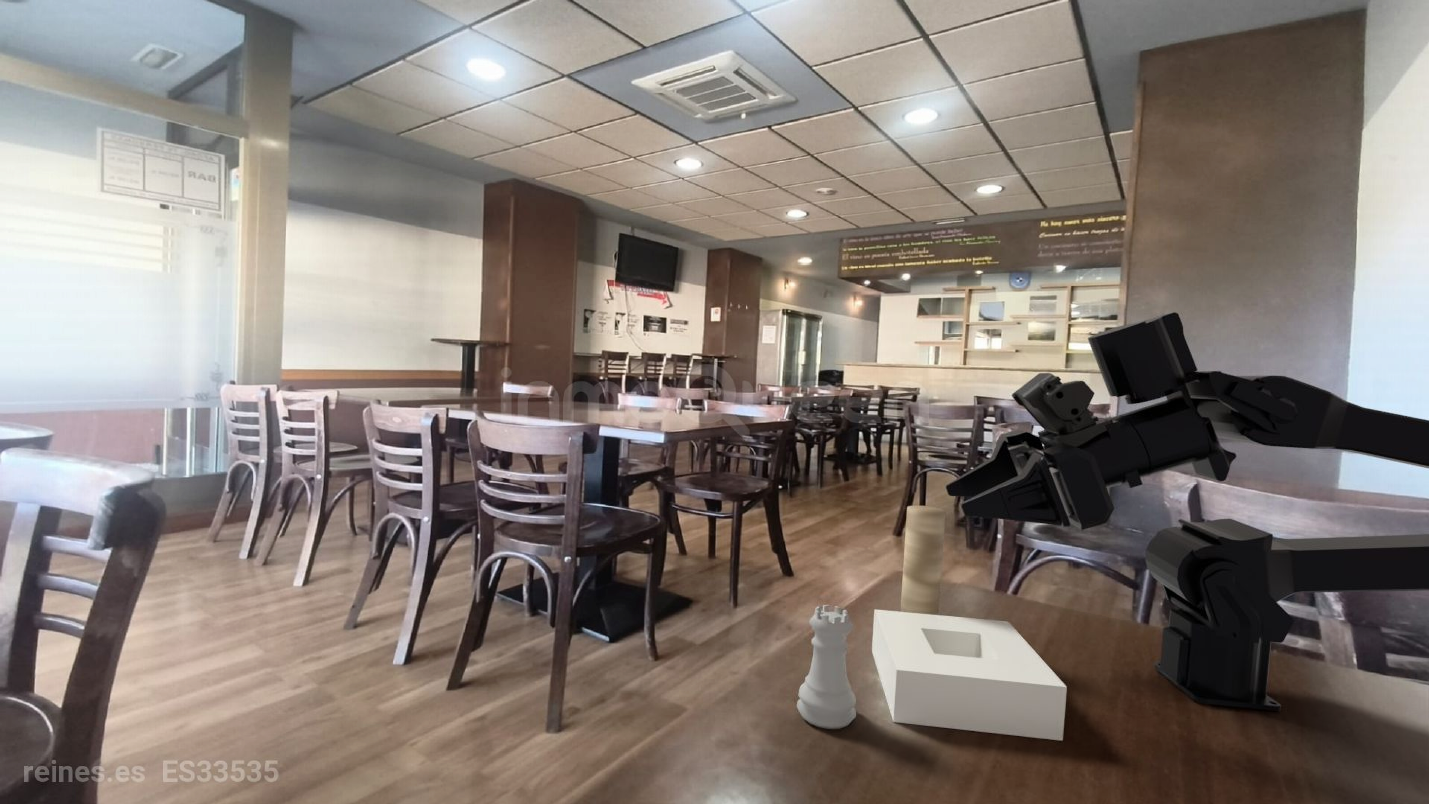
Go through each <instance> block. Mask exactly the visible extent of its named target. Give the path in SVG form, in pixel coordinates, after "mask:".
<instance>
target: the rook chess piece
mask: <svg viewBox="0 0 1429 804" xmlns="http://www.w3.org/2000/svg"><path fill="white" fill-rule="evenodd" d="M830 609H831V608H830V604H822V607H821V606H819V605H818V606H816V607H815V609H814V614H813V616H812V617H811V618H810V619H809V622H808V623H809V625H810V627H811V628H812V629H813V631H814V636H813V637H812V638H811V642H810V643H811V644H812V646H813V653H812V659H811V665H810V669H809V671H808V675H806V676H805V678H804V682H803V683H802V684H801V685H800V687H799V690H798V694H797V696H798V697H799V699H798V700H797V702H796V703H797V704H796V708H797V710H798V712H799V713H800V715H801V717H802V718H803V720H805V722H808V723H809V724H810V725H813V726H815V727H817V728H821V729H826V730H840V729H843V728H845V727H848V726H849V725H850V723H851V722H852V721H853V720H854V719H855V718H856V717H857V712H856V708H855V706H856V705H857V703H856V701H857V700H856V696H855V694H856V693H854V691H853V690H852V689H851V683H850V682H849V680H848V679H849V678H848V676H847V664H846V663H847V662H846V655H847V654H846V651H847V650H848V649H849V648H850V646H849V645H850V644H849V643H848V642H847V636H848V635H849V634H850V632H852V631H853V629H854V625H853V623H852V622H851V620H850V618H849V616H850V615H849V614H850V613H849V610H847V609H843V610H842V607H840V606H838V605H837V606H836V605H834V610H833V611H832V610H830Z"/></svg>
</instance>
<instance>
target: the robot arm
mask: <svg viewBox="0 0 1429 804" xmlns="http://www.w3.org/2000/svg"><path fill="white" fill-rule="evenodd" d="M1182 322H1183V321H1182V319H1181V317H1180V315H1179V313H1178V312H1175V311H1174V312H1169V313H1166V314H1162V315H1159V316H1155V317H1153V318H1149V319H1146V320H1145V319H1144V320H1142V321H1139V322H1134V323H1129V324H1124V325H1119V326H1115V327H1113V328H1110V329H1107V330H1105V331H1102V332H1098V333H1096V334H1094V335H1091V336H1089V337H1088V338H1087V341H1088V343H1089V347H1090V348H1091V351H1092V353H1093V356H1094V359H1095V361H1096V364H1097V366H1098V369H1099V372H1100V374H1101V376H1102V379H1103V382H1104V384H1105V387H1106V389H1107V391H1108V395H1109V396H1110V397H1116V398H1120V397H1124V400H1125V403H1126V404H1127V405H1137V404H1143V403H1147V402H1150V401H1151V402H1152V401H1154V400H1159V399H1161V398H1164V397H1166V399H1165V400H1162V401H1160V402H1156V403H1154V404H1153V403H1152V404H1149V405H1147V406H1144V407H1143V406H1142V407H1141V408H1140V407H1139V408H1138V409H1135V410H1131V411H1128V412H1125V413H1121V414H1118V415H1115V416H1112V417H1107V418H1101V417H1098V416H1095V415H1090V413H1091V410H1089V406H1090V404H1091V402H1092V401H1093V398H1094V395H1095V392H1094V391H1093V389H1091V388H1090V386H1089V385H1088V384H1087V383H1086V381H1083V380H1072V381H1067V382H1061V380H1062V379H1061V378H1060V376H1058V375H1057V376H1056V375H1054V374H1053V373H1051V372H1040V373H1038V374H1036V375H1035V376H1034V377H1032V378H1031V379H1030V380H1028V381H1027V382H1026V383H1025V384H1023V385H1022V386H1020V387H1019V388H1018V389H1017V390H1016V391H1014V392H1013V393H1012V394H1011V397H1012V398H1013V400H1014V402H1015V403H1017V405H1018V406H1022V407H1023V409H1025V411H1026V412H1027V413H1029V415H1030V416H1031V417H1032V418H1033V419H1034V420H1035V422H1037V423H1038V425H1040V427H1041V428H1042V429H1044V430H1041V431H1037V434H1038V436H1037V435H1035V434H1033V433H1031V432H1028V431H1026V430H1023V429H1014V430H1011V431H1009V432H1005V433H1002V434H1000V437H999V438H998V439H997V440H996V442H995V444H996V445H995V447H994V449H993V452H992V454H991V456H990V457H989V458H988V459H987V460H985V461H984V462H982V463H981V464H979V465H977V466H976V467H974V468H972V469H970V470H969V471H967V472H966V473H964V474H962V475H961V476H959V477H957V478H956V479H954V480H952V481H950V482H949V483H947V484H946V485H945V490H946V492H947V495H948V496H949V497H965V498H966V497H970V498H969V499H967V500H964V501H963V502H961V503H960V507H961V510H962V512H963V515H964V516H966V517H973V518H974V517H975V518H984V519H985V518H986V519H997V520H1006V521H1017V522H1026V523H1032V524H1033V523H1035V524H1043V525H1049V526H1050V525H1052V526H1059V527H1062V528H1069V527H1071V525H1073V526H1074V527H1076V528H1077V529H1079V530H1080V531H1083V530H1087V529H1091V528H1094V527H1098V526H1101V525H1105V524H1107V522H1108V521H1109V519H1110V517H1111V515H1112V514H1113V512H1114V510H1115V506H1114V504H1113V502H1112V501H1113V500H1112V499H1111V496H1110V494H1109V490H1108V489H1109V488H1112V487H1113V488H1114V487H1116V486H1120V485H1122V486H1124V487H1127V488H1129V489H1132V488H1135V487H1140V486H1143V481H1142V479H1143V478H1147V477H1151V476H1154V475H1156V474H1159V473H1163V472H1164V473H1165V472H1166V471H1170V470H1173V469H1177V468H1179V467H1184V466H1187V465H1192V468H1193V469H1194V472H1195V474H1196V475H1197V476H1200V477H1204V478H1207V479H1210V480H1215V481H1217V482H1225V481H1226V480H1227V477H1228V475H1229V474H1230V473H1229V472H1230V471H1231V465H1232V463H1233V461H1234V460H1236V458H1237V454H1236V453H1235V452H1231V451H1229V450H1227V449H1225V448H1223V447H1222V446H1221V443H1220V441H1219V438H1220V439H1223V440H1228V441H1229V440H1231V441H1235V442H1236V441H1237V442H1241V443H1242V442H1243V443H1248V444H1249V443H1250V444H1255V445H1261V446H1267V447H1277V448H1278V447H1280V448H1292V449H1293V448H1294V449H1295V448H1296V449H1313V450H1316V449H1317V450H1339V451H1342V452H1343V451H1344V452H1347V453H1354V454H1358V455H1362V456H1367V457H1371V458H1372V457H1373V458H1377V459H1383V460H1386V461H1391V462H1397V463H1400V464H1401V463H1402V464H1406V465H1411V466H1415V467H1421V468H1424V469H1429V419H1423V418H1419V417H1414V416H1408V415H1403V414H1398V413H1392V412H1387V411H1384V410H1377V409H1374V408H1373V409H1372V408H1369V407H1364V406H1361V405H1358V404H1355V403H1352V402H1350V401H1347V400H1345V399H1344V398H1341V396H1338V395H1336V394H1334V393H1333V392H1331V391H1329V390H1326V389H1322V388H1320V387H1317V386H1315V385H1312V384H1310V383H1306V382H1304V381H1301V380H1297V379H1296V378H1292V377H1289V376H1285V375H1233V374H1229V373H1225V372H1222V371H1221V370H1206V371H1205V370H1204V371H1203V370H1199V371H1198V368H1197V364H1196V362H1195V360H1194V357H1193V355H1192V352H1191V349H1190V347H1189V345H1188V342H1187V340H1186V336H1185V334H1184V326H1183V323H1182ZM1178 524H1180V526H1172V527H1167V528H1163V529H1160V530H1159V531H1158V530H1157V533H1156V534H1155V536H1153V537H1152V539H1151V540H1150V541H1149V542H1148V545H1147V547H1146V549H1145V554H1144V555H1145V556H1144V560H1145V564H1146V568H1147V570H1148V572H1149V573H1150V575H1151V576H1152V577H1153V578H1154V580H1156V581H1157V582H1159V583H1160V584H1161V588H1162V591H1163V593H1164V597H1165V599H1166V600H1168V602H1171V603H1173V604H1174V605H1176V606H1178V607H1179V608H1178V609H1174V608H1173V609H1171V608H1170V609H1169V618H1168V626H1167V625H1166V626H1164V628H1163V629H1162V640H1161V653H1160V662H1157V661H1156V662H1153V663H1154V664H1153V665H1154V666H1153V668H1154V669H1155V670H1156V671H1157V672H1158V673H1160V675H1162V676H1163V677H1164V678H1166V680H1168V681H1169V682H1171V683H1172V684H1173V685H1174V686H1176V687H1177V688H1179V689H1180V690H1181V691H1182V692H1184V694H1186V695H1187V696H1188V697H1189V698H1191V699H1192V700H1193V701H1195V702H1197V703H1201V704H1207V705H1216V706H1224V707H1225V706H1226V707H1235V708H1242V709H1243V708H1245V709H1252V710H1254V709H1256V710H1264V711H1265V710H1266V711H1274V712H1280V711H1281V710H1282V705H1281V703H1279V702H1278V701H1277V700H1275V699H1274V698H1272V697H1271V696H1269V695H1267V693H1268V691H1267V689H1268V682H1269V681H1268V680H1269V670H1270V659H1271V658H1270V657H1271V649H1272V647H1271V646H1272V643H1279V644H1282V643H1283V642H1284V641H1285V639H1286V637H1287V636H1288V634H1289V632H1290V630H1291V628H1292V627H1293V624H1294V623H1295V621H1294V618H1293V617H1292V616H1291V615H1290V614H1289V613H1288V612H1287V611H1286V610H1285V609H1284V608H1283V607H1282V606H1281V605H1280V604H1279V603H1278V602H1280V601H1282V600H1284V599H1286V598H1288V597H1290V596H1292V595H1296V594H1306V593H1308V594H1309V593H1359V592H1360V593H1363V592H1370V593H1371V592H1409V591H1410V592H1417V591H1429V533H1426V534H1424V533H1423V534H1397V535H1396V534H1395V535H1371V536H1369V535H1368V536H1340V537H1339V536H1338V537H1314V538H1313V537H1310V538H1309V537H1308V538H1307V537H1306V538H1305V537H1304V538H1285V539H1284V538H1281V539H1279V538H1278V539H1274V534H1273V533H1270V532H1268V531H1265V530H1262V529H1260V528H1257V527H1254V526H1251V525H1249V524H1246V523H1243V522H1240V521H1238V520H1235V519H1233V518H1218V519H1214V520H1207V521H1203V522H1202V521H1201V522H1195V521H1190V520H1189V521H1188V520H1186V519H1182V518H1180V519H1178Z"/></svg>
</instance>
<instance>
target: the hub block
mask: <svg viewBox="0 0 1429 804" xmlns="http://www.w3.org/2000/svg"><path fill="white" fill-rule="evenodd" d="M872 627H873V628H872V640H871V641H872V642H871V643H872V644H871V652H872V657H873V660H874V663H875V666H876V670H877V672H878V673H877V674H878V676H879V679H880V682H881V683H880V684H881V685H882V689H883V692H884V694H885V699H886V702H887V705H888V708H889V712H890V715H891V718H892V722H893V723H901V724H908V725H909V724H910V725H917V726H927V727H936V728H946V729H955V730H961V731H962V730H963V731H974V732H981V733H991V734H998V735H1009V736H1016V737H1017V736H1019V737H1026V738H1036V739H1044V740H1046V739H1047V740H1054V741H1064V740H1063V739H1064V728H1065V717H1066V716H1065V715H1066V703H1067V689H1068V688H1067V685H1066V684H1065V683H1064V682H1063V681H1062V680H1061V679H1060V678H1059V676H1058V675H1057V674H1056V673H1055V672H1054V670H1052V669H1051V667H1049V665H1048V664H1047V663H1046V662H1045V661H1044V660H1043V659H1042V658H1041V656H1040V655H1039V654H1038V653H1037V652H1036V651H1035V649H1033V647H1032V646H1031V645H1030V644H1029V643H1028V642H1027V640H1026V639H1024V638H1023V637H1022V635H1021V634H1020V633H1019V632H1018V631H1017V629H1015V627H1014V626H1013V625H1012V624H1011V623H1010V621H1006V620H994V619H985V618H984V619H982V618H974V617H973V618H972V617H962V616H961V617H959V616H952V615H951V616H950V615H940V614H939V615H931V614H920V613H909V612H900V611H897V610H885V609H874V612H873V626H872Z"/></svg>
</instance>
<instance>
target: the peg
mask: <svg viewBox="0 0 1429 804" xmlns="http://www.w3.org/2000/svg"><path fill="white" fill-rule="evenodd" d="M946 512H947V511H946V510H944V509H943V508H942V509H941V508H938V507H935V506H928V505H908V506H907V507H906V521H905V535H904V550H903V553H904V554H903V566H902V567H903V570H902V580H901V581H902V584H901V595H900V596H901V597H900V610H899V612H909V613H920V614H931V615H940V603H941V601H940V598H941V586H942V585H941V584H942V572H943V571H942V570H943V555H944V541H945V540H944V539H945V526H946Z"/></svg>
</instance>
